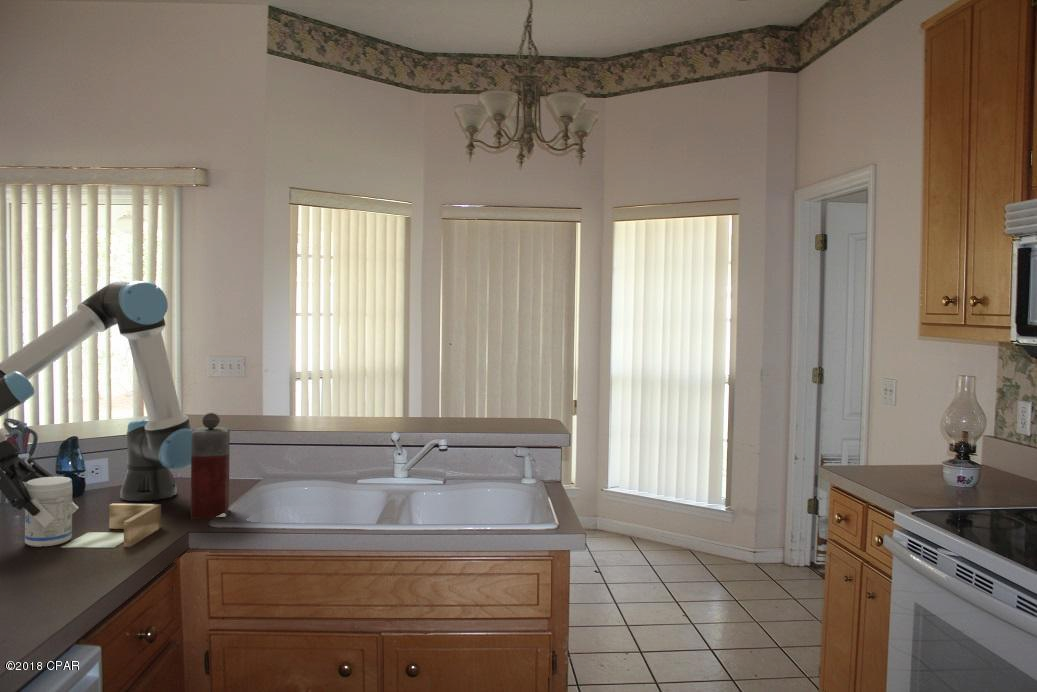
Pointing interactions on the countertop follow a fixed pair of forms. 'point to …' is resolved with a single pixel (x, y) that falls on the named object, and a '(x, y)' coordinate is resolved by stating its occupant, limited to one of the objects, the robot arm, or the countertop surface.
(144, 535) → the corner arena
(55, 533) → the supplement tub
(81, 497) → the countertop surface
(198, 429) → the dark red bottle
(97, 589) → the countertop surface
